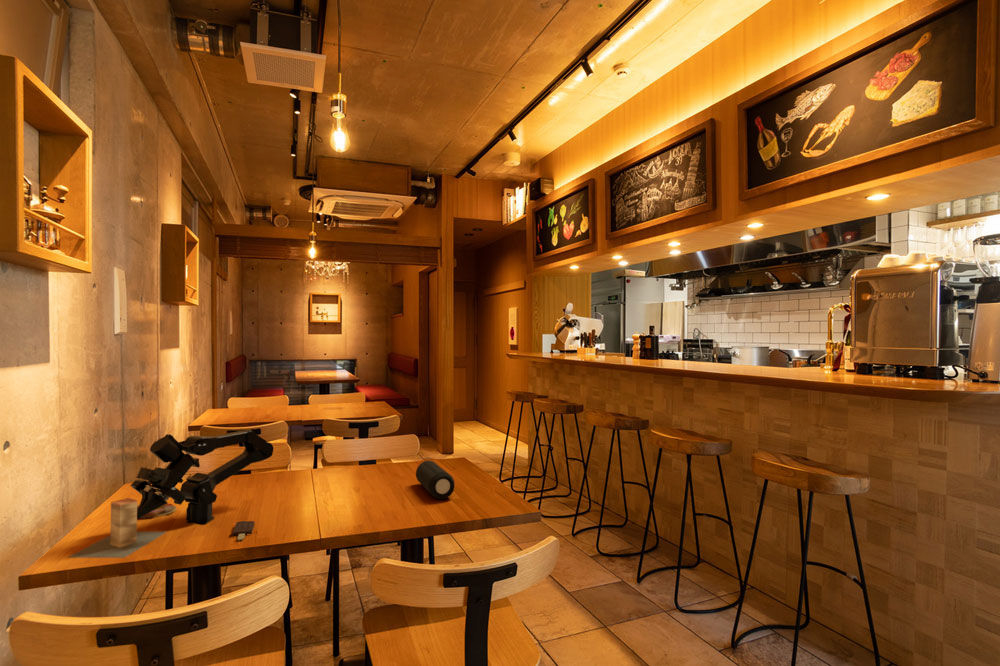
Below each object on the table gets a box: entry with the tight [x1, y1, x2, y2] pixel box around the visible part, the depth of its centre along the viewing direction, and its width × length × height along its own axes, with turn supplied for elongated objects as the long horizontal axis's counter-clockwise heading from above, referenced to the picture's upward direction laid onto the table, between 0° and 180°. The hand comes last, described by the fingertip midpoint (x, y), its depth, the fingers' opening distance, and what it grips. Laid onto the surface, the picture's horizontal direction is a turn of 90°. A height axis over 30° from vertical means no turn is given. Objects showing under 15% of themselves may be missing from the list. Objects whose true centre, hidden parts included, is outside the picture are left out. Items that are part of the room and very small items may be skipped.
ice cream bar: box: [231, 520, 255, 542], centre depth 164 cm, size 5×2×15 cm
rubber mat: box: [67, 531, 167, 559], centre depth 153 cm, size 15×19×1 cm
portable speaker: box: [415, 460, 456, 500], centre depth 210 cm, size 26×10×10 cm, turn 23°
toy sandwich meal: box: [137, 503, 177, 519], centre depth 180 cm, size 12×14×5 cm
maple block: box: [110, 497, 138, 548], centre depth 153 cm, size 4×4×12 cm
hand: (136, 517), depth 156 cm, fingers closed
